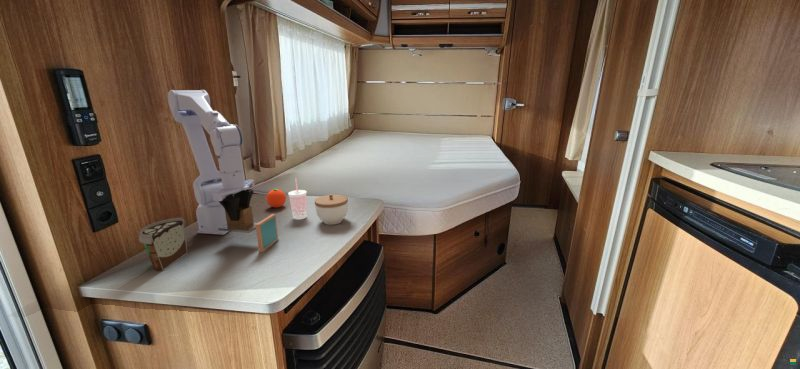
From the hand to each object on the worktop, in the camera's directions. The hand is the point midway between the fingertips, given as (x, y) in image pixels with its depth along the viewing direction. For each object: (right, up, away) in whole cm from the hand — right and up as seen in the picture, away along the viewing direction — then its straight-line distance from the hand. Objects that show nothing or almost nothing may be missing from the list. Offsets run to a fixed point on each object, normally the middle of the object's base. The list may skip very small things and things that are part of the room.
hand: (239, 217), depth 93 cm
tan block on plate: (0, -3, +1) cm, 3 cm away
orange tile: (+8, -8, +1) cm, 11 cm away
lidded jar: (+23, -3, +17) cm, 29 cm away
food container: (-16, -11, -7) cm, 21 cm away
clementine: (-1, +1, +33) cm, 33 cm away
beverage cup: (+10, -2, +22) cm, 24 cm away
